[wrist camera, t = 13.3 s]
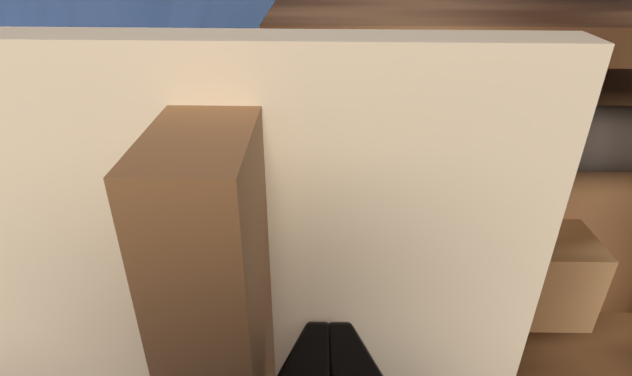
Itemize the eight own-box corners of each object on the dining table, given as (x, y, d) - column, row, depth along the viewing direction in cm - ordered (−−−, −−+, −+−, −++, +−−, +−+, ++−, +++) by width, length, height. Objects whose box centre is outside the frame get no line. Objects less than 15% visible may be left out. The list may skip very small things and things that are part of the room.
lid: (582, 30, 8) (747, 97, 5) (480, 420, 13) (530, 577, 10) (-137, 25, 8) (-422, 86, 5) (30, 413, 13) (-62, 566, 10)
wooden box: (783, 0, 11) (967, 30, 8) (643, 316, 16) (723, 414, 13) (278, -4, 11) (260, 24, 8) (287, 311, 16) (278, 407, 13)
